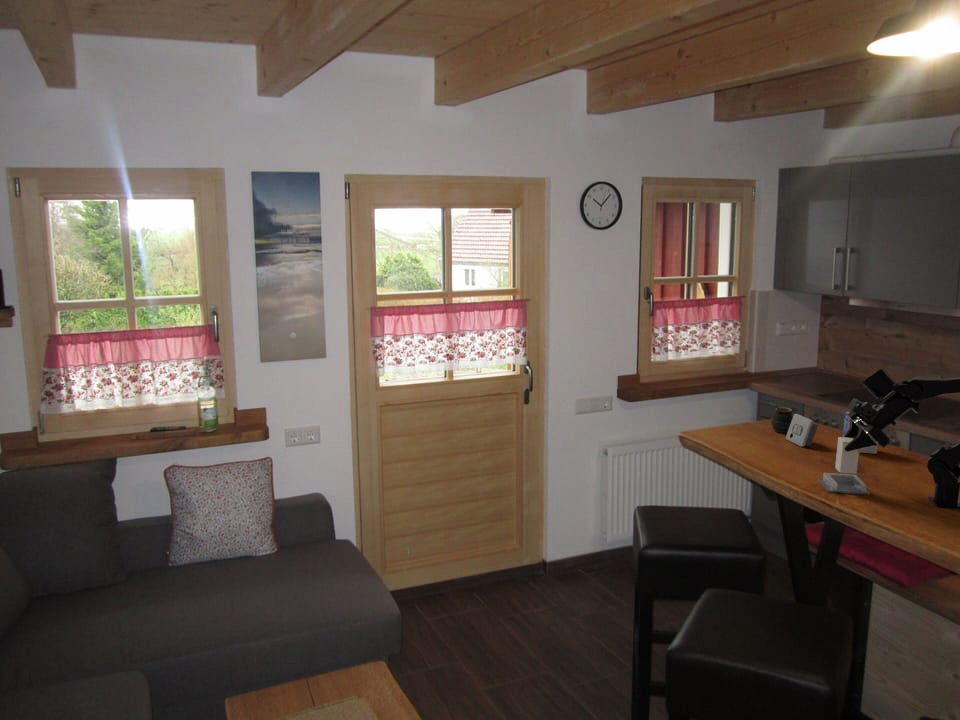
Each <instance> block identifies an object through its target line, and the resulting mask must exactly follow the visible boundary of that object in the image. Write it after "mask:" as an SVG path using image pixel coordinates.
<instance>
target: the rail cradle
mask: <svg viewBox="0 0 960 720" xmlns="http://www.w3.org/2000/svg"><path fill="white" fill-rule="evenodd" d="M817 481H818V482H819V483H820V484H821V486H822V487H823V488H824V489H825V490H826V493H830V494H831V493H834V494H847V495H848V494H849V495H850V494H851V495H862V496H864V495H865V496H866V495H867V496H870V495H871V492H870V491H869V490H868V488H867V484H865V482H863V479H861V478H860V477H859V476H858V475H857V474H852V473H833V472H823V473H822V478H820V477H819V478H817Z"/></svg>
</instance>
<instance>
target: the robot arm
mask: <svg viewBox="0 0 960 720" xmlns="http://www.w3.org/2000/svg"><path fill="white" fill-rule="evenodd" d="M861 384H862V385H863V386H864V387H865V389H866V390H868V391H869V392H870V393H871V394H872V395H873V396H874V397H875V398H876V399H882V400H884V399H885V400H884V401H883V402H881V403H880V404H877V403H876V404H872V403H869V402H867V401H865V402H863V401H861V400H859V399H857V398H854V397H853V398H852V399H851V401H850V402H849V404H848V405H847V409H849V410H850V411H849V412H850V413H849V414H847V415H848V416H849V417H850V418H851V419H852V420H853V421H852V420H851V419H850V428H849V430H848V431H847V433H846V434H845V436H844V437H847V438H854V439H853V440H852V441H851V442H850V443H849V444H848V445H847V446H846V447H845V448H844V449H845V450H846V451H847V452H848V451H852V450H856V449H860V448H864V447H869V446H874V445H875V446H877V447H878V445H879V446H881V448H883V449H884V448H885V447H887V446H888V445H889V444H890V441H891V439H890V438H889V437H888V436H887V435H886V433H885V432H884V430H885V429H887V428H888V427H889V426H891V425H892V426H893V427H894V426H896V424H897V422H896V421H897V420H899V419H900V418H901V417H902V416H903V415H905V414H906V413H908V412H909V411H911V410H912V411H913V412H914V413H915V414H919V412H920V405H921V403H920V402H918V401H923V400H926V399H930V398H931V399H932V398H934V397H938V396H941V395H944V394H958V393H960V376H959V377H947V378H943V377H935V376H923V375H922V376H921V375H919V376H915V377H913V378H911V379H910V380H898V381H896V379H894V378H893V377H892V376H891V375H890V374H889V373H888V372H887V370H886V369H885V368H884V367H882V368H881V367H880V368H879V369H878V370H877V371H876V372H875V373H873V374H872V375H869V376H868V377H867V378H865V379H864V381H862V383H861ZM893 392H894V393H893ZM892 393H893V394H892ZM890 394H891V395H890ZM889 395H890V396H889ZM888 396H889V397H888ZM887 397H888V398H887ZM915 401H917V402H915ZM876 442H878V445H877V444H876ZM929 457H930V459H928V460H927V464H926V465H927V470H928V472H929V473H930V474H931V475H932V479H933V482H934V493H933V496H927V499H928V500H929V501H931V502H932V504H934V505H935V506H936V507H938V508H955V509H960V502H959V498H960V466H959V465H960V442H959V443H957V444H954V445H951V444H950V442H946V444H944V445H943V446H942V447H941V448H939V449H936V450H934V452H932V454H930V455H929Z"/></svg>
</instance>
